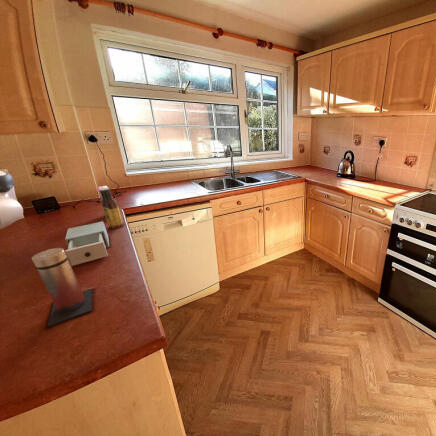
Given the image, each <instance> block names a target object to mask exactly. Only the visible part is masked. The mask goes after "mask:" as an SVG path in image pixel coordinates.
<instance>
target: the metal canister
mask: <svg viewBox="0 0 436 436" xmlns="http://www.w3.org/2000/svg"><path fill="white" fill-rule="evenodd" d="M65 251H66V250H65V249H64V248H62V247H55V248H49V249H46V250H43V251H40V252H38V253H36V254H34V255H32V257H31V261H32V262H33V265H34V268H35V269H36V270H37V273H38V274H39V276H40V278H41V281H42V283H43V284H44V286H45V288H46V291H47V292H48V294H49V296H50V299H51V300H52V302H54V304H55V306H56V308H57V310H58V312H60V313H67V312H71V311H73V310H76V309H78V308H79V307H81V306H82V305H83V304H84V303H85V302H86V299H85V297H84V294H83V289H82V288H81V286H80V283H79V281H78V279H77V276H76V274H75V272H74V270H73V266H71V263H70V261H69V259H68V256H67V254H66V252H65Z"/></svg>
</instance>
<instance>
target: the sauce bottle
mask: <svg viewBox="0 0 436 436" xmlns="http://www.w3.org/2000/svg"><path fill="white" fill-rule="evenodd" d="M100 193H101V195H102V201H101V209H102V211H103V215H104V217H105V219H106V222H107V225H108V227H109V228H110V229H111V230H112V229H118V228H121V227H123V226H124V220H123V218H122V214H121V211H120V209H119V206H118V202H117V200H116V199H115V198H114V197H113V195H112V191H111V188H109V187H108V188H103V189H100Z"/></svg>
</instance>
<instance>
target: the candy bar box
mask: <svg viewBox="0 0 436 436" xmlns="http://www.w3.org/2000/svg"><path fill="white" fill-rule="evenodd" d="M96 188H97V192H98V196H99V198H100V200H101V202H102V195H101V193H100V189H103V188H109V186H108V185H102V186H97V187H96Z"/></svg>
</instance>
